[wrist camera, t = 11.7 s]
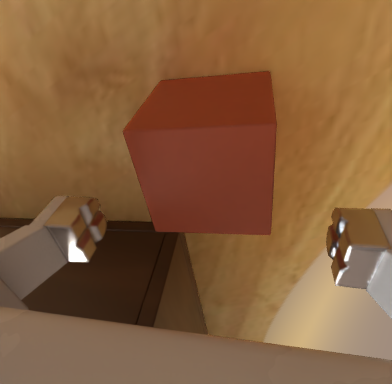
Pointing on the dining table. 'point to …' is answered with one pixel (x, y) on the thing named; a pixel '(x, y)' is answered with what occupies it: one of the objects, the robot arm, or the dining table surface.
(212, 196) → the block
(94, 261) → the cabinet
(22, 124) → the dining table surface
